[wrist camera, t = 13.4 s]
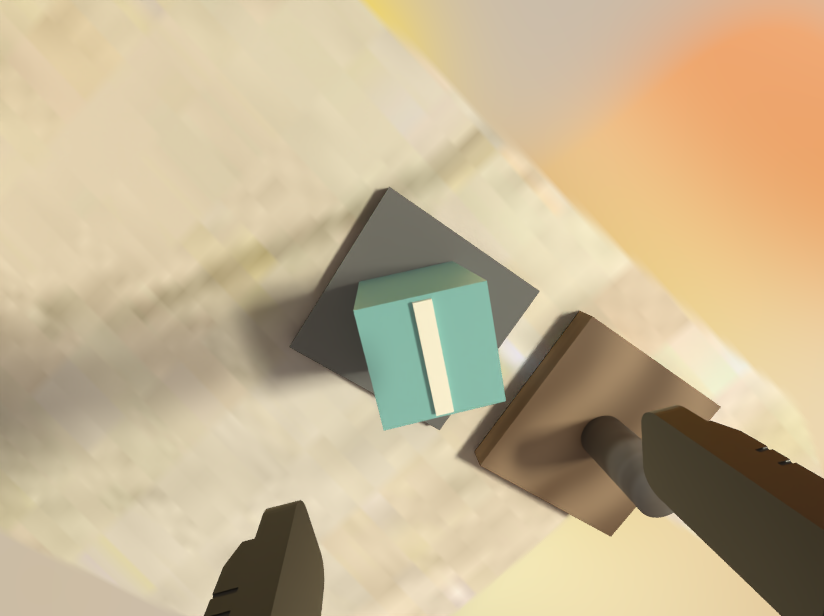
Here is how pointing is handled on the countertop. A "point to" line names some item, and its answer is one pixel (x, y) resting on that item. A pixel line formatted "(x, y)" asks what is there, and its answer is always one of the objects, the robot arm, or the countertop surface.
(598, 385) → the post base
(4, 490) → the countertop surface
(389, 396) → the striped teal box
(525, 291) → the mat
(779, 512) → the robot arm
